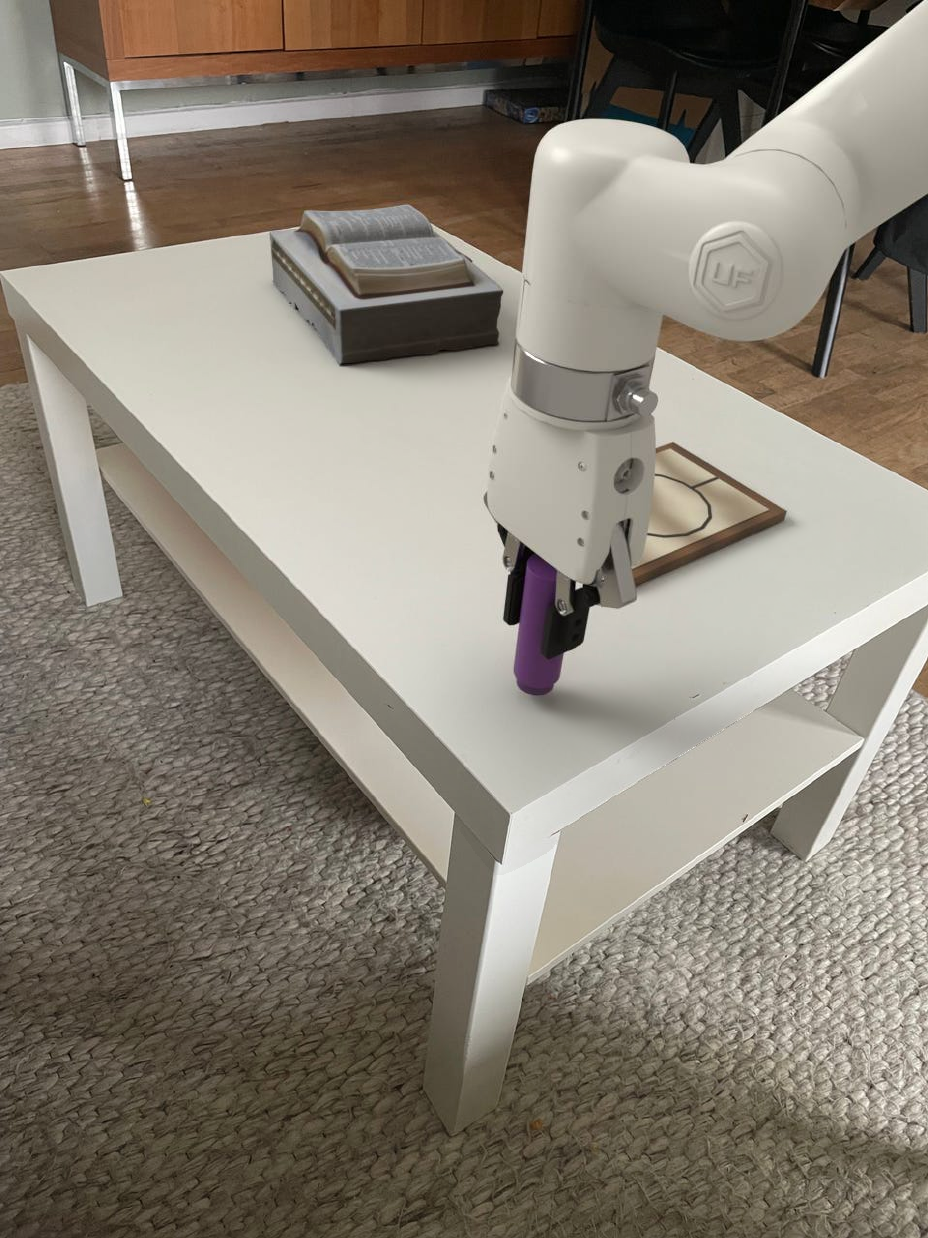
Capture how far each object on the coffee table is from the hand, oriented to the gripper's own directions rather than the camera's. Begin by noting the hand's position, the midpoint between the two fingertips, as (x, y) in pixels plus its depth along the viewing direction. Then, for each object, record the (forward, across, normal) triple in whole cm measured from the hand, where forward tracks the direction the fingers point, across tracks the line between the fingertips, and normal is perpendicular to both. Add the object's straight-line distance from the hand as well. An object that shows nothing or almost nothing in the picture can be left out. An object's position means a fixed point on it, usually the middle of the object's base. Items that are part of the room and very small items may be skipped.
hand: (542, 631), depth 66 cm
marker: (+5, 0, 0) cm, 5 cm away
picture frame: (+6, +13, -24) cm, 27 cm away
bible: (+5, +60, -26) cm, 65 cm away
